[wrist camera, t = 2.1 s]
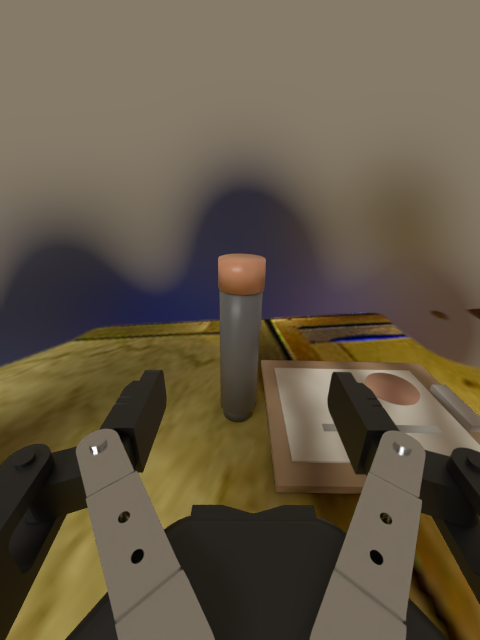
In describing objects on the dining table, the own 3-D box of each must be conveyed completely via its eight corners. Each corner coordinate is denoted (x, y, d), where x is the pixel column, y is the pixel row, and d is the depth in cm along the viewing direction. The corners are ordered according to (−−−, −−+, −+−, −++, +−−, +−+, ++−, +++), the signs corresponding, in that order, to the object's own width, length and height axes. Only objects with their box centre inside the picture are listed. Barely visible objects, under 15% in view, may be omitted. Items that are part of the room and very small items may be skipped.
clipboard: (275, 492, 21) (277, 478, 20) (260, 364, 36) (261, 354, 36) (546, 496, 21) (557, 483, 20) (416, 368, 36) (420, 358, 36)
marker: (218, 424, 27) (216, 263, 20) (220, 398, 30) (219, 253, 23) (256, 425, 27) (268, 264, 20) (254, 398, 30) (263, 254, 23)
